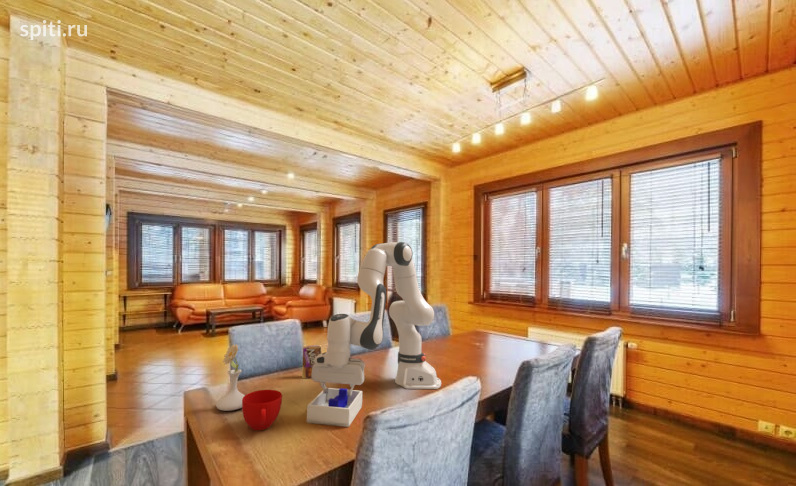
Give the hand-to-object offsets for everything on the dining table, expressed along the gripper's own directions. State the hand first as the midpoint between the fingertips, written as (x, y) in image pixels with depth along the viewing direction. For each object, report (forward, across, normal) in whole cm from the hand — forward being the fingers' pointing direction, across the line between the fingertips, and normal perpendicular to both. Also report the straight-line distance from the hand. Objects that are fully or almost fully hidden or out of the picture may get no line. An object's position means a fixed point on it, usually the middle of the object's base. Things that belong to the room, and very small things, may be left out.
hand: (337, 394), depth 128 cm
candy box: (+8, +26, -37) cm, 46 cm away
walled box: (+7, 0, 0) cm, 7 cm away
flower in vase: (+7, +41, +4) cm, 42 cm away
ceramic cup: (+7, +21, +16) cm, 28 cm away
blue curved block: (+6, 0, 0) cm, 6 cm away
